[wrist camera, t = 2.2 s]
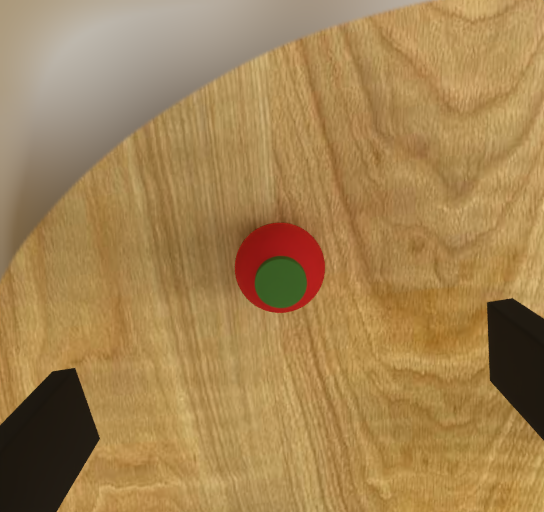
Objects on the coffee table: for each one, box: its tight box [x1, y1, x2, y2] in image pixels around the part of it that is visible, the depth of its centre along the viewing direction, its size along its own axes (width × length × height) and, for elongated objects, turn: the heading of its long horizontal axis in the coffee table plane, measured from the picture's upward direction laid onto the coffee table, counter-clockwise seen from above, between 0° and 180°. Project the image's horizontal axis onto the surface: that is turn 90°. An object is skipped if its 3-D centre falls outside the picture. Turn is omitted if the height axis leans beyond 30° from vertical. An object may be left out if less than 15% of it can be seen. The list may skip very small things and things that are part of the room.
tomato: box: [235, 223, 325, 313], centre depth 22 cm, size 5×5×5 cm
